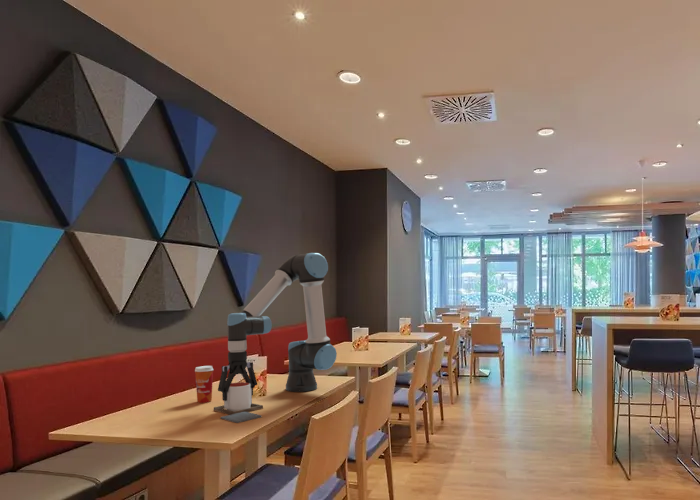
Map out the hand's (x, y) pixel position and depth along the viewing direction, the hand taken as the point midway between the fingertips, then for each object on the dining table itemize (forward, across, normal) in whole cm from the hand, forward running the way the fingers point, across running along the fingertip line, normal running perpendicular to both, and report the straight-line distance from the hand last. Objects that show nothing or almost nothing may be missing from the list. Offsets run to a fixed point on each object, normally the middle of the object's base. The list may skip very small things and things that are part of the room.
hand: (238, 406), depth 214 cm
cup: (+2, 0, 0) cm, 2 cm away
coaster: (+1, +8, +13) cm, 15 cm away
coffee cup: (+2, 0, -26) cm, 26 cm away
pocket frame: (+1, 0, 0) cm, 1 cm away
